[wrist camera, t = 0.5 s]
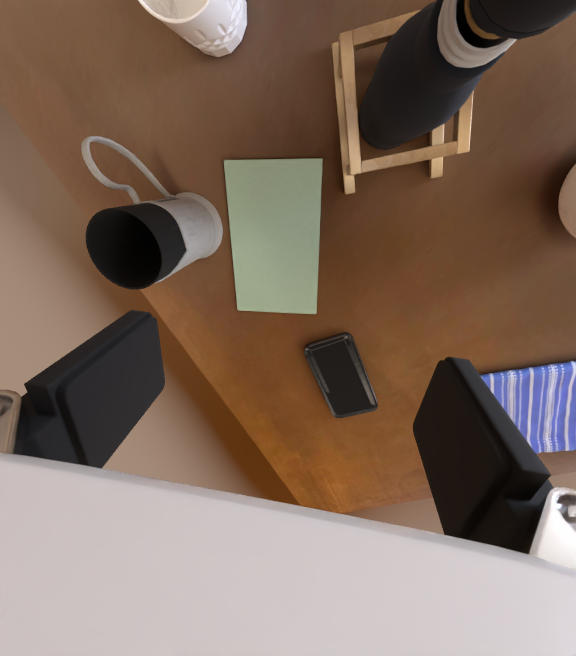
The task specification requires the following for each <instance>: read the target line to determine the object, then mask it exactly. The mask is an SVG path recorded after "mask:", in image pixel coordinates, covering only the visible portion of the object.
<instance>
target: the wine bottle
mask: <svg viewBox="0 0 576 656" xmlns="http://www.w3.org/2000/svg"><path fill="white" fill-rule="evenodd" d="M574 12H576V0H437V1H436V2H434V3H431V4H429V5H427V6H426V7H425V8H423V9H422V10H420V11H419V12H417V13H416V14H415V15H413V16H412V17H411V18H409V19H408V20H407V21H406V22H405V23H404V24H403V25H402V26H401V27H400V28H399V29H398V31H397V32H396V33H395V34H394V35H393V37H392V38H391V39H390V40H389V42H388V43H387V45H386V47H385V49H384V51H383V53H382V56H381V58H380V60H379V62H378V64H377V67H376V69H375V72H374V74H373V77H372V79H371V82H370V84H369V87H368V89H367V92H366V94H365V97H364V99H363V102H362V104H361V108H360V113H359V128H360V130H361V133H362V136H363V138H364V139H365V140H366V141H367V142H368V144H370V145H371V146H373V147H375V148H377V149H384V150H386V149H391V148H395V147H397V146H399V145H401V144H404V143H406V142H408V141H410V140H412V139H415V138H417V137H419V136H421V135H423V134H426V133H428V132H430V131H432V130H434V129H436V128H437V127H439V126H441V125H443V124H444V123H446V122H447V121H448V120H449V119H450V118H451V117H452V116H453V115H454V114H455V113H456V112H457V111H458V110H459V109H460V108H461V107H462V106H463V105H464V104H465V102H466V101H467V99H468V98H469V96H470V95H471V93H472V92H473V90H474V88H475V87H476V85H477V84H478V82H479V80H480V79H481V76H482V73H483V72H485V71H486V70H488V69H489V68H491V67H492V66H493V65H494V64H495V63H496V62H497V61H498V60H499V59H500V58H501V57H502V56H503V55H504V53H505V52H506V50H507V49H508V48H509V47H510V46H511V45H512V44H513V43H514V42H515V41H516V40H517V39H522V38H526V37H530V36H534V35H538V34H541V33H542V32H544V31H546V30H547V29H549V28H551V27H552V26H554V25H556V24H557V23H559V22H561V21H562V20H564V19H565V18H567V17H568V16H570V15H571V14H573V13H574Z"/></svg>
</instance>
